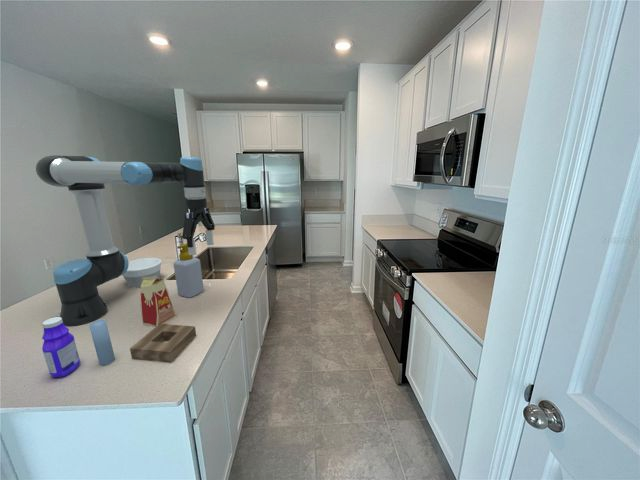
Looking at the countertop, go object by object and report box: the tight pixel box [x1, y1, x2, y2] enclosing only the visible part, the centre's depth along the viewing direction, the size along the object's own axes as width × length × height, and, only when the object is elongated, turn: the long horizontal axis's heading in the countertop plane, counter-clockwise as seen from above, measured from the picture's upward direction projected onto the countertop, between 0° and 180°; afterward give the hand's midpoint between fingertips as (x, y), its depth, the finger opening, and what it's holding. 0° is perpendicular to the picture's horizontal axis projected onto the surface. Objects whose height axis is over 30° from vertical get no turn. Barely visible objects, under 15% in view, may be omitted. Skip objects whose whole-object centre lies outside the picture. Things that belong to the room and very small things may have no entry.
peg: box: [88, 319, 116, 367], centre depth 84 cm, size 4×4×14 cm
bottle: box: [41, 316, 81, 378], centre depth 79 cm, size 7×6×17 cm
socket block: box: [129, 323, 197, 364], centre depth 92 cm, size 14×14×4 cm
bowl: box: [122, 257, 162, 289], centre depth 142 cm, size 19×19×11 cm
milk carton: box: [140, 276, 178, 328], centre depth 106 cm, size 9×9×20 cm
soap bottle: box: [172, 243, 205, 298], centre depth 128 cm, size 9×9×25 cm
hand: (202, 249), depth 110 cm, fingers open, 13 cm apart
